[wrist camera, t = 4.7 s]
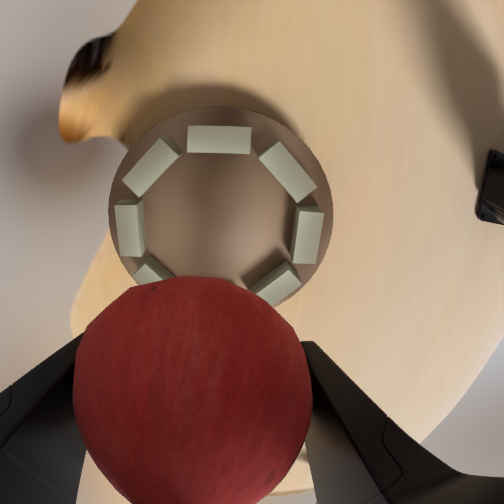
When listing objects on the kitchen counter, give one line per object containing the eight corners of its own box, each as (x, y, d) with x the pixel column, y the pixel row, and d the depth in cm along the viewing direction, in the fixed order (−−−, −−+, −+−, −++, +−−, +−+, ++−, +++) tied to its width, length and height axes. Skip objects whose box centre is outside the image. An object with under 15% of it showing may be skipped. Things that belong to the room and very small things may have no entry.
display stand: (336, 119, 16) (355, 119, 13) (307, 305, 22) (316, 331, 19) (116, 112, 15) (94, 112, 12) (132, 297, 21) (119, 322, 18)
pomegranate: (273, 365, 11) (298, 555, 4) (135, 353, 11) (89, 534, 3) (302, 233, 9) (424, 525, 1) (115, 220, 8) (-53, 454, 1)
